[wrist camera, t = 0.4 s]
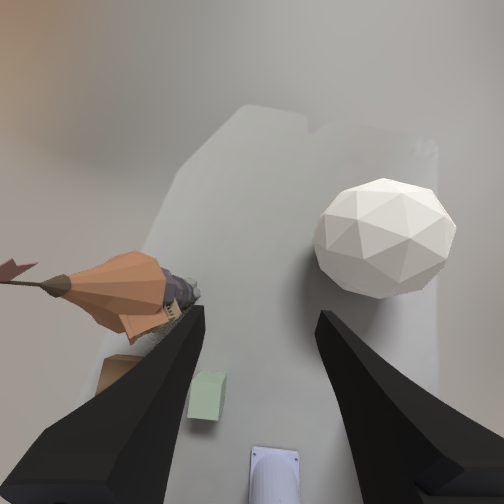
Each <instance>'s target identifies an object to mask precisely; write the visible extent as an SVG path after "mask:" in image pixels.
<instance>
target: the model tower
mask: <svg viewBox="0 0 504 504" xmlns="http://www.w3.org/2000/svg"><path fill="white" fill-rule="evenodd" d="M37 263H38V262H36V263H29V264H22V265H16V264H15V262H14V260H13V258H11V259H10V260H8V261H6V262H5V263H3V264H1V265H0V283H1V284H14V285H27V286H38V287H41V288H42V289H43V290H45V291H46V292H47V293H48V294H49V295H51V296H53V297H55V298H57V297H62V298H64V299H66V300H68V301H70V302H72V303H74V304H76V305H78V306H80V307H81V308H83V309H84V310H85V311H86V312H88V313H89V314H90V315H92V317H93V318H94V319H95V321H96V322H97V323H98V324H100V325H102V326H104V327H106V328H108V329H110V330H112V331H114V332H116V333H118V334H119V333H123V332H126V334H127V337H128V340H129V342H130V345H133V344H134V342H135V341H136V340H137V338H140V337H142V336H143V335H145V334H148V333H150V332H153V333H155V332H158V331H160V330H162V329H163V328H165V327H167V326H169V325H170V324H172V323H173V322H174V321H175V320H177V319H178V318H179V317H180V316H181V315H182V313H181V311H180V310H185V307H186V306H187V305H189V304H191V303H195V300H196V299H197V298H198V297H200V289H198V288H196V286H197V281H196V280H193V279H191V278H187V279H185V281H184V279H182V278H180V277H178V276H174V275H171V273H170V271H169V270H167V269H164V268H162V267H160V266H159V264H158V262H157V260H156V259H155V258H153V257H150V256H148V255H145V254H143V253H140V252H138V251H133V252H130V253H127V254H122V255H119V256H115V257H113V258H111V259H110V260H108V261H107V262H105V263H104V264H101V265H99V266H96V267H94V268H92V269H89V270H86V271H82V272H79V273H75V274H71V275H68V276H66V275H60V276H56V277H54V278H52V279H49V280H47V281H44V282H42V283H34V282H21V281H10V280H11V279H13V278H15V277H16V276H18V275H20V274H21V273H23V272H25V271H26V270H28V269H29V268H31V267H33V266H34V265H36V264H37ZM149 329H150V330H149ZM148 330H149V331H148Z"/></svg>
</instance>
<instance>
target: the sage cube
mask: <svg viewBox="0 0 504 504" xmlns="http://www.w3.org/2000/svg"><path fill="white" fill-rule="evenodd" d="M226 378H227V373H219V372H209V371H201V372H200V373H199V374H198V375H197V376H196V377H195V378H194V380H193V381H192V385H191V392H190V400H189V407H188V415H187V417H189V418H198V419H207V420H216V421H218V419H219V417H220V414H221V411H222V409H223V406H224V400H225V389H226Z"/></svg>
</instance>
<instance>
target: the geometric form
mask: <svg viewBox="0 0 504 504" xmlns="http://www.w3.org/2000/svg"><path fill="white" fill-rule="evenodd" d="M456 228H457V227H456V225H455V224H454V222H453V221H452V220H451V218H450V217H449V215H448V214H447V212H446V211H445V209H444V208H443V206H442V205H441V203H440V202H439V201H438V199H437V198H436V196H435V195H434V193H433V192H432V190H430V189H426V188H422V187H418V186H413V185H409V184H405V183H401V182H397V181H393V180H389V179H385V178H382V179H379V180H375V181H372V182H369V183H366V184H363V185H360V186H357V187H354V188H351V189H348V190H345V191H342V192H340V193H339V195H338V196H337V197H336V198H335V199H334V201H333V202H332V203H331V204H330V205H329V206H328V208H327V209H326V210H325V211H324V212H323V214H322V215H321V216H320V217H319V218H318V221H317V225H316V228H315V232H314V235H313V239H312V241H313V245H314V248H315V252H316V255H317V259H318V262H319V266H320V269H321V270H322V271H323V272H325V273H326V274H327V275H328V276H329V277H330V278H331V279H332V280H333V281H334V282H336V283H337V284H338V285H339V286H340V287H341V288H342V289H343V290H347V291H351V292H355V293H358V294H362V295H366V296H370V297H374V298H377V299H381V298H386V297H390V296H395V295H399V294H404V293H408V292H413V291H417V290H422V289H423V288H424V287H425V286H426V285H427V284H428V283H429V282H430V281H431V280H432V278H433V277H434V276H435V275H436V274H437V273H438V272H439V271H440V270H441V269H442V268H443V267H444V264H445V262H446V260H447V257H448V254H449V250H450V247H451V244H452V241H453V238H454V234H455V231H456Z"/></svg>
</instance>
